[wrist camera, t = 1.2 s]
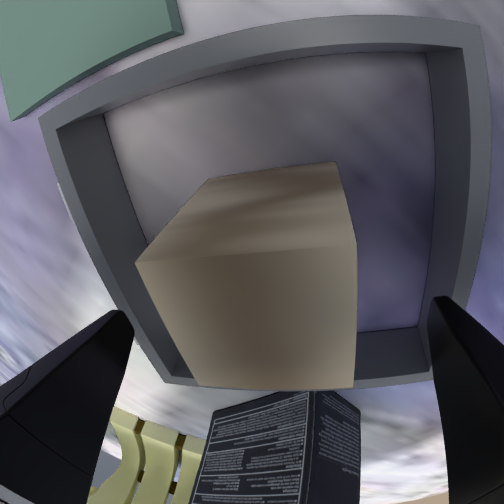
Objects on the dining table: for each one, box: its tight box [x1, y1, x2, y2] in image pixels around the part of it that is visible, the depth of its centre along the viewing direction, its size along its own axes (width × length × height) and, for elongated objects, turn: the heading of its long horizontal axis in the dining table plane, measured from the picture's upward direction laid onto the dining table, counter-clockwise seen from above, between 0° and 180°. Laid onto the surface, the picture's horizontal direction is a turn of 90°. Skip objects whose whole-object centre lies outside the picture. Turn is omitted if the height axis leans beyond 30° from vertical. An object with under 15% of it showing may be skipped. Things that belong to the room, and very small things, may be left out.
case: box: [38, 15, 491, 391], centre depth 11 cm, size 15×15×3 cm
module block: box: [135, 162, 357, 390], centre depth 10 cm, size 5×5×6 cm
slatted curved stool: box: [87, 407, 206, 504], centre depth 24 cm, size 30×16×18 cm, turn 78°
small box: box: [188, 390, 361, 504], centre depth 17 cm, size 11×6×10 cm, turn 135°
